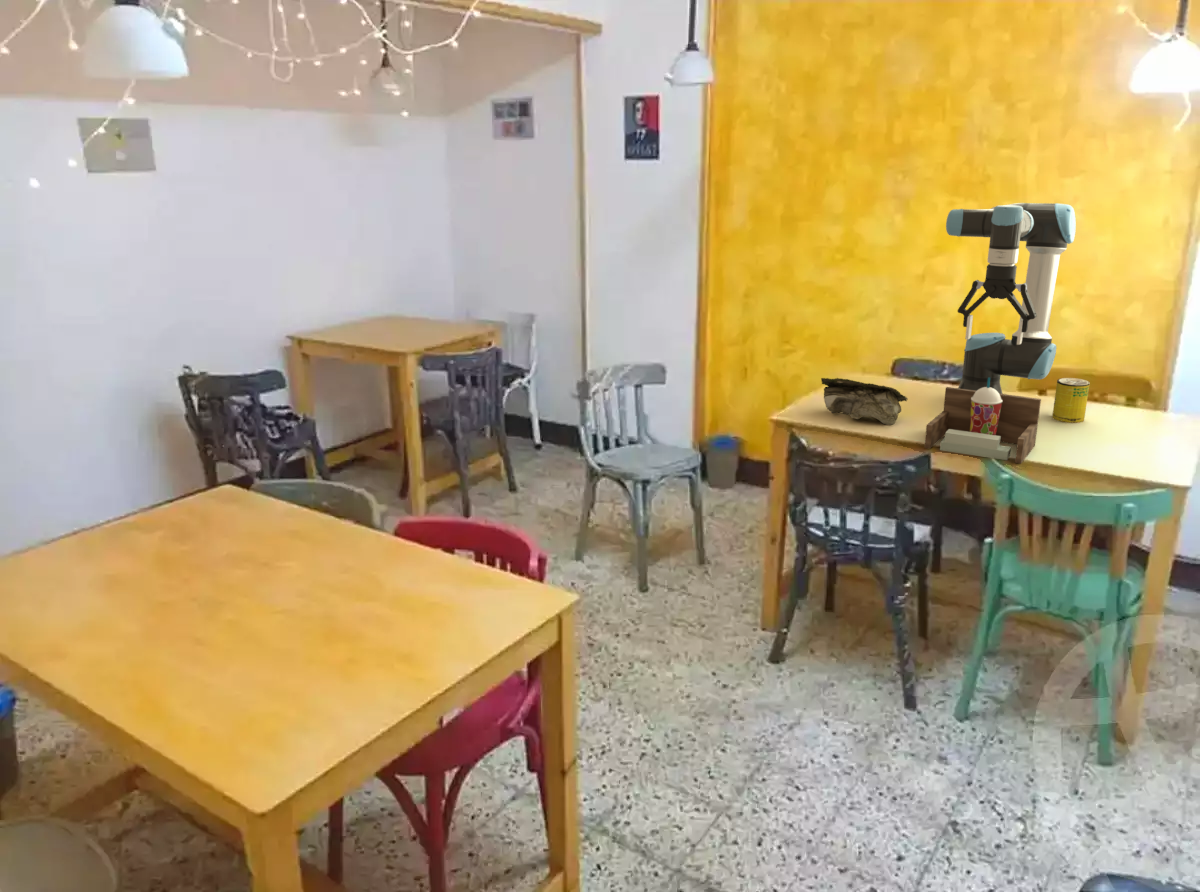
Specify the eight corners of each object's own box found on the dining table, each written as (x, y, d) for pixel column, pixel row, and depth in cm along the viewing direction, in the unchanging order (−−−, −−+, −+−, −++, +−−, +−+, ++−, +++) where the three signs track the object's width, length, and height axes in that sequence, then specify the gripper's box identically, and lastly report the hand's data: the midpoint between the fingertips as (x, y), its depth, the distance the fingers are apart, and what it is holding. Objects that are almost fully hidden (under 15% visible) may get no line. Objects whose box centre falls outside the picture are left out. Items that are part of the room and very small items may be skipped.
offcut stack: (943, 446, 270) (945, 428, 268) (1010, 456, 261) (1012, 437, 259) (939, 451, 267) (941, 432, 265) (1006, 461, 257) (1009, 442, 255)
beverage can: (1088, 418, 292) (1093, 380, 288) (1078, 424, 286) (1084, 386, 282) (1057, 413, 298) (1062, 376, 294) (1048, 419, 292) (1053, 382, 288)
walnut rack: (942, 431, 282) (947, 386, 278) (1035, 445, 268) (1041, 398, 263) (924, 447, 268) (928, 401, 264) (1020, 463, 254) (1027, 414, 250)
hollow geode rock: (818, 423, 309) (802, 398, 298) (832, 391, 312) (817, 366, 302) (898, 437, 290) (885, 411, 280) (913, 403, 294) (900, 376, 284)
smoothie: (992, 440, 273) (999, 374, 267) (1000, 449, 265) (1009, 381, 259) (962, 440, 274) (969, 374, 268) (970, 449, 266) (978, 381, 260)
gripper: (951, 263, 257) (943, 338, 264) (1048, 268, 244) (1038, 348, 250) (958, 260, 263) (951, 334, 270) (1054, 265, 249) (1044, 343, 256)
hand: (993, 341), depth 260 cm, fingers open, 13 cm apart
